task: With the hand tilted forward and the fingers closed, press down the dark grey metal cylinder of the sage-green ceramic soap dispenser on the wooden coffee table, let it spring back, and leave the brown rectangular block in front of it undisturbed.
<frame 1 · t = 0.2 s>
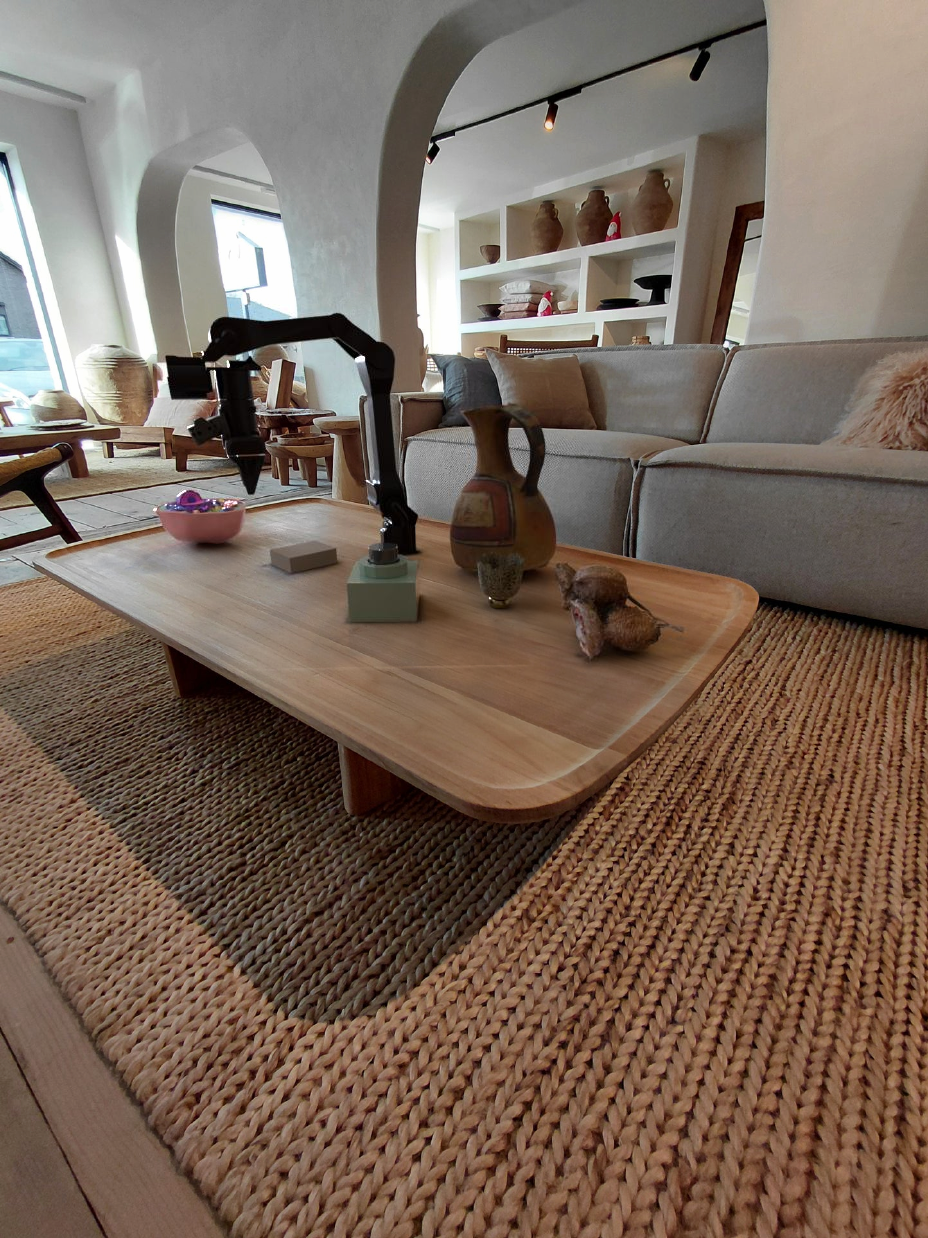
hand: (249, 490, 106), 15 cm above the table, tool pointing down, fingers open, 9 cm apart
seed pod: (601, 645, 79), on the table
cell model: (209, 543, 128), on the table
brown rectangular block: (304, 563, 113), on the table
cup: (499, 606, 92), on the table
ceramic pitcher: (501, 570, 110), on the table
dark grey metal cylinder: (383, 554, 88), point 9 cm above the table, slide at 0.1 cm
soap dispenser: (386, 608, 91), on the table
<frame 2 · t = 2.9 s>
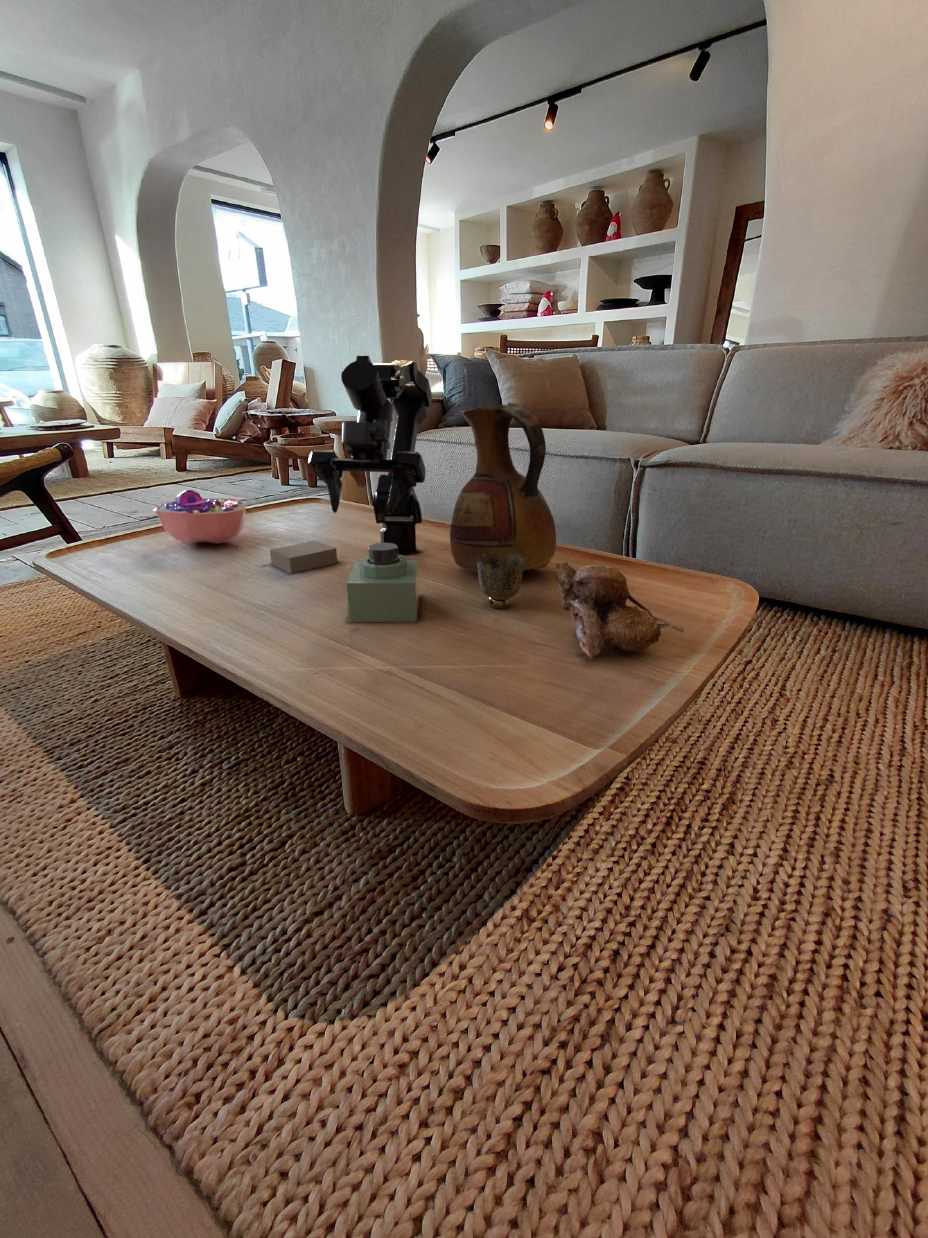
hand: (361, 512, 94), 13 cm above the table, tool tilted 40°, fingers open, 9 cm apart
nothing on the table moved.
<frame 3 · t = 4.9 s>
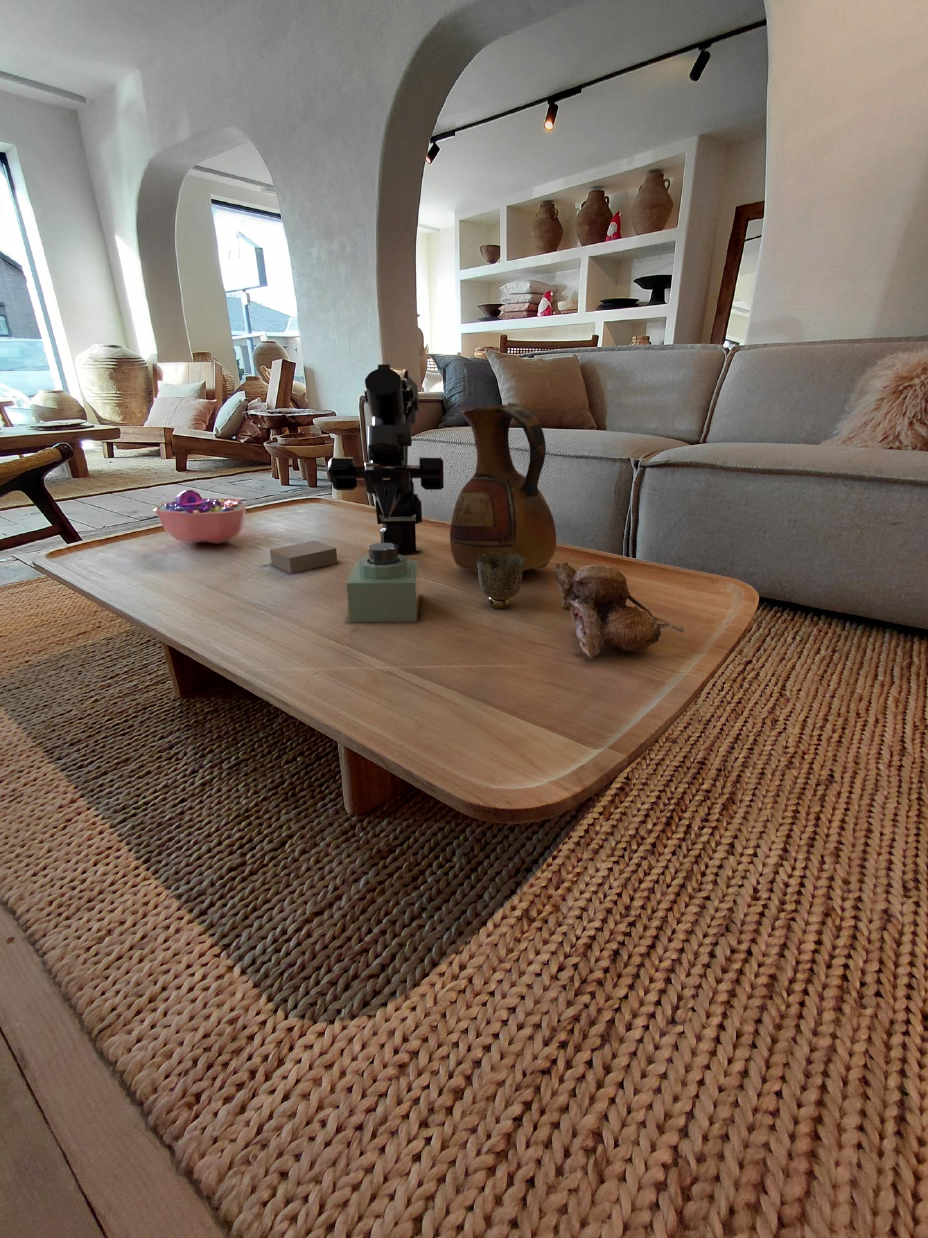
hand: (386, 516, 93), 13 cm above the table, tool tilted 45°, fingers closed
nothing on the table moved.
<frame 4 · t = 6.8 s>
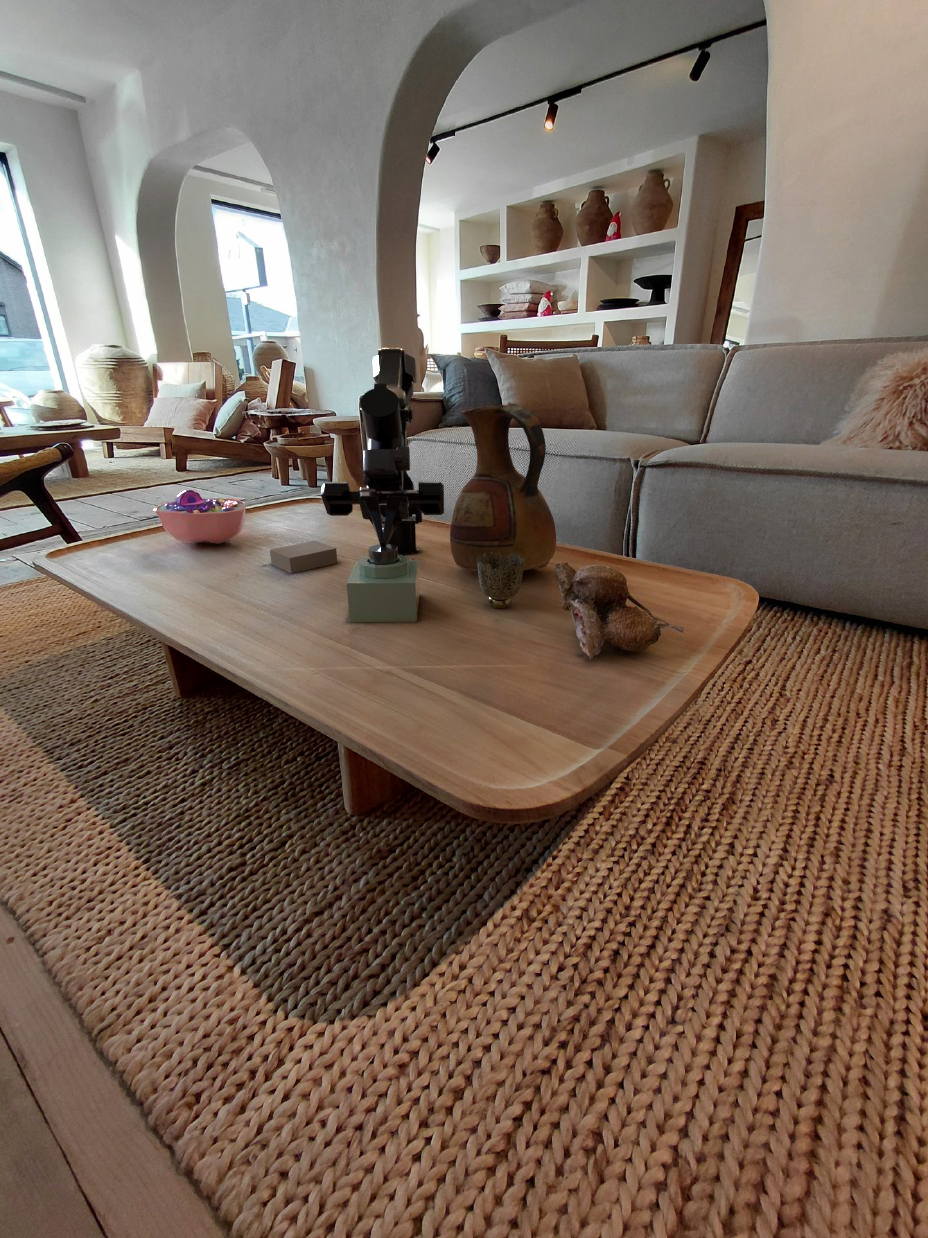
hand: (383, 545, 87), 10 cm above the table, tool tilted 45°, fingers closed, pressing on dark grey metal cylinder
dark grey metal cylinder: (383, 555, 88), point 9 cm above the table, slide at -0.1 cm, touching gripper
everything else where it was.
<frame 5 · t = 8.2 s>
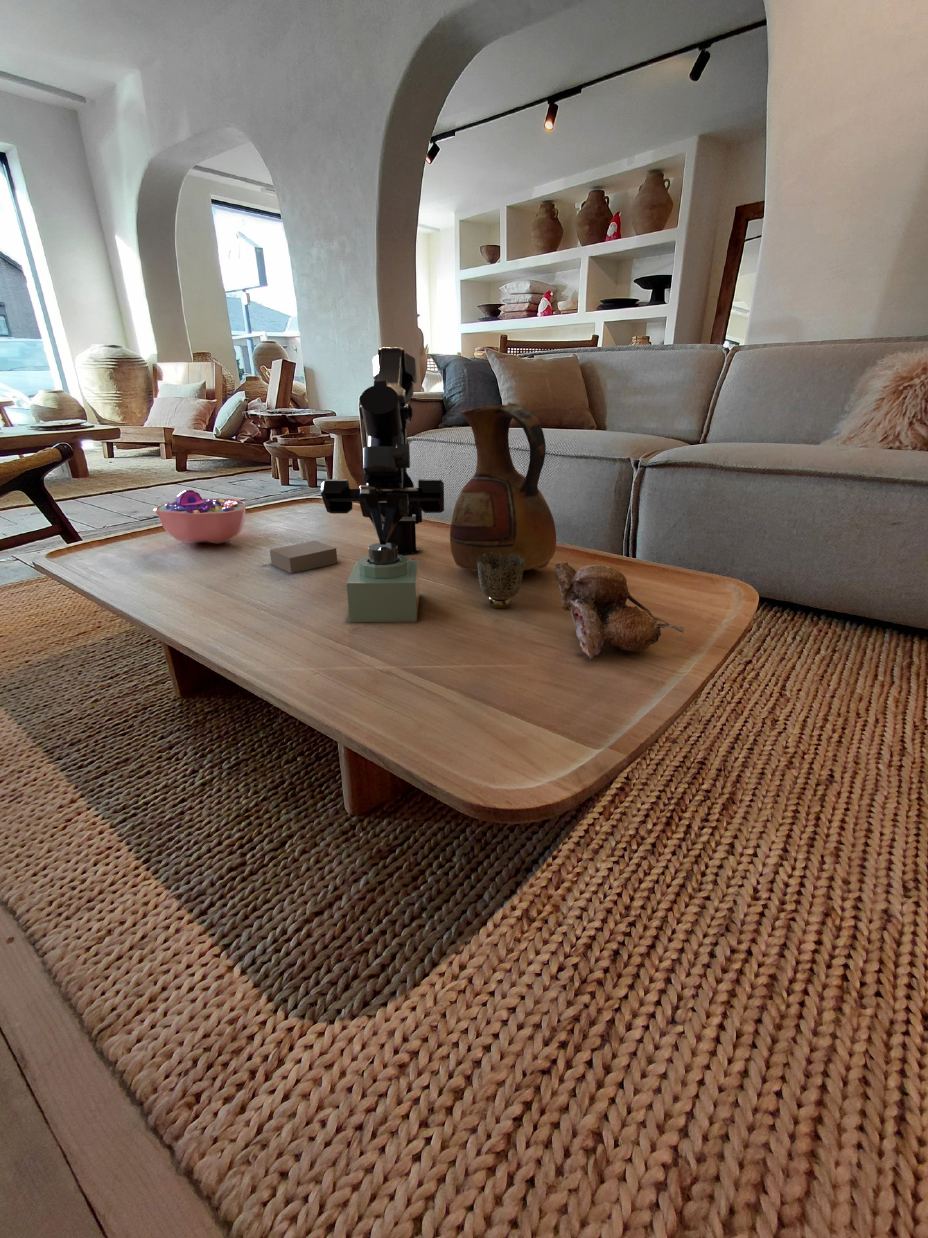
hand: (382, 543, 87), 11 cm above the table, tool tilted 45°, fingers closed
dark grey metal cylinder: (383, 554, 88), point 9 cm above the table, slide at 0.1 cm
everything else where it was.
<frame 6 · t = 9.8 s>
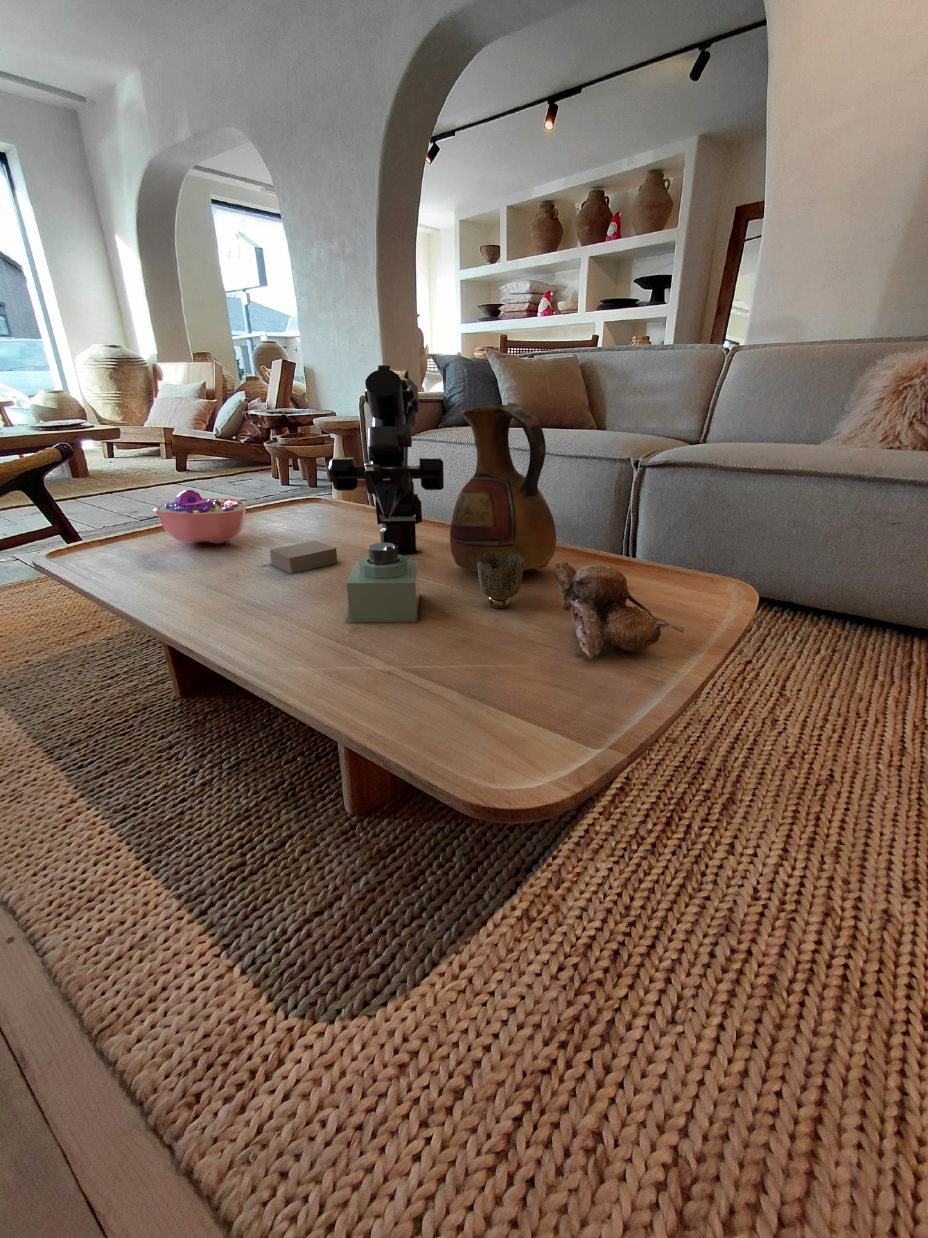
hand: (386, 517, 93), 13 cm above the table, tool tilted 45°, fingers closed
nothing on the table moved.
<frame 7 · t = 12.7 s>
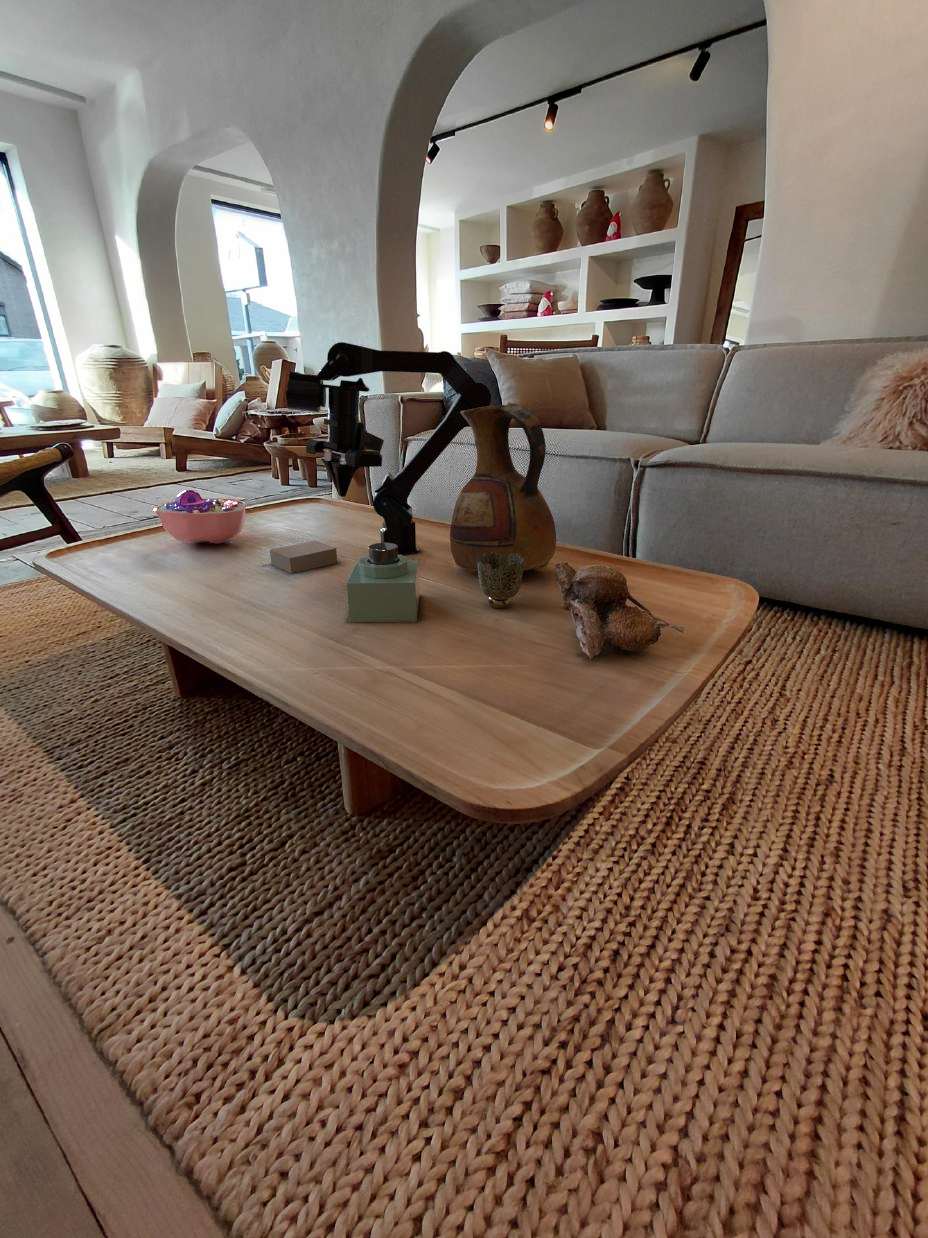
hand: (342, 496, 116), 12 cm above the table, tool pointing down, fingers closed
nothing on the table moved.
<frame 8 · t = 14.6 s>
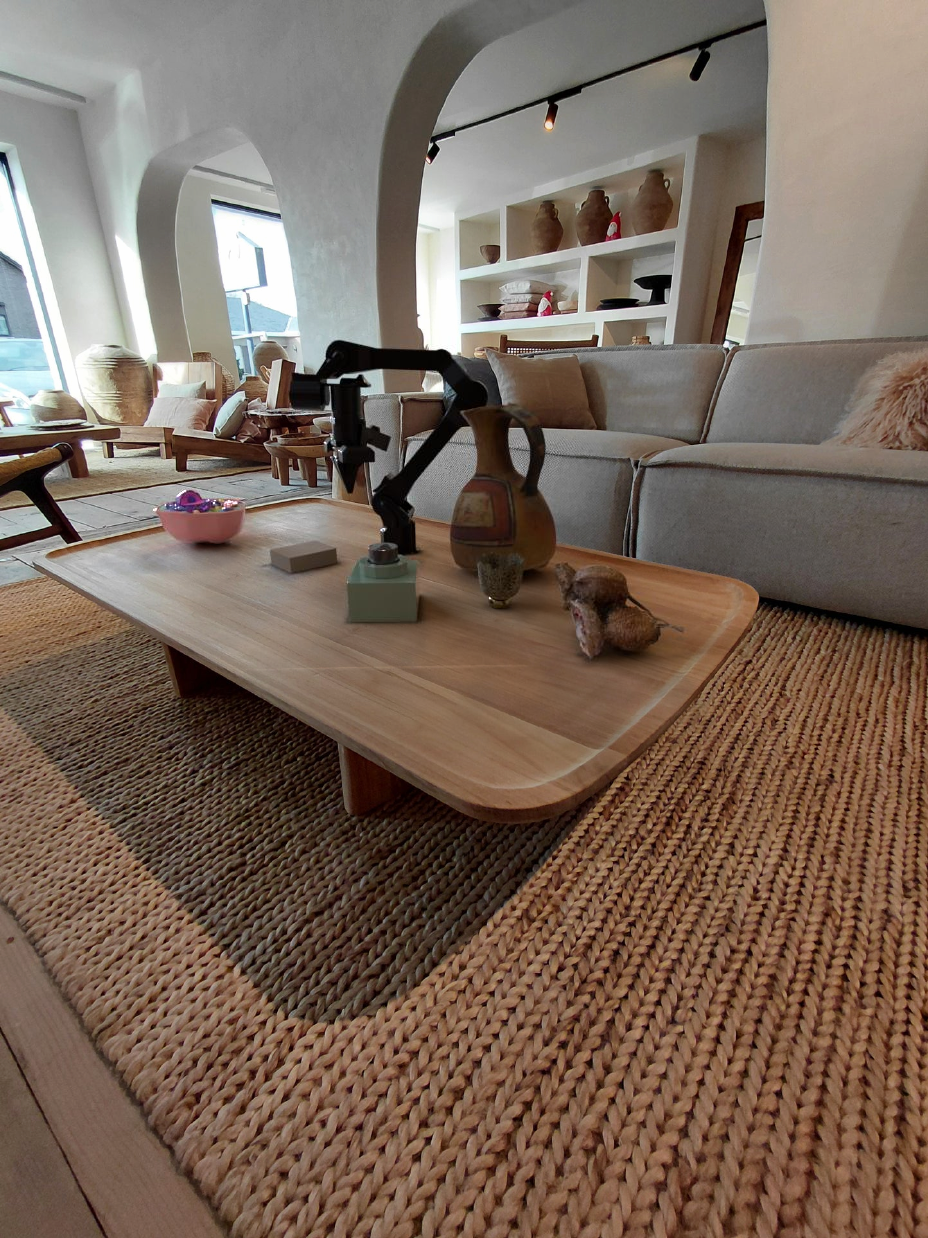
hand: (349, 493, 118), 12 cm above the table, tool pointing down, fingers closed
nothing on the table moved.
at the end: dark grey metal cylinder pushed in 1.3 cm at the most during the clip, back to where it started at the end; dark grey metal cylinder slide at 0.1 cm; brown rectangular block moved 0.0 cm from its start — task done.
